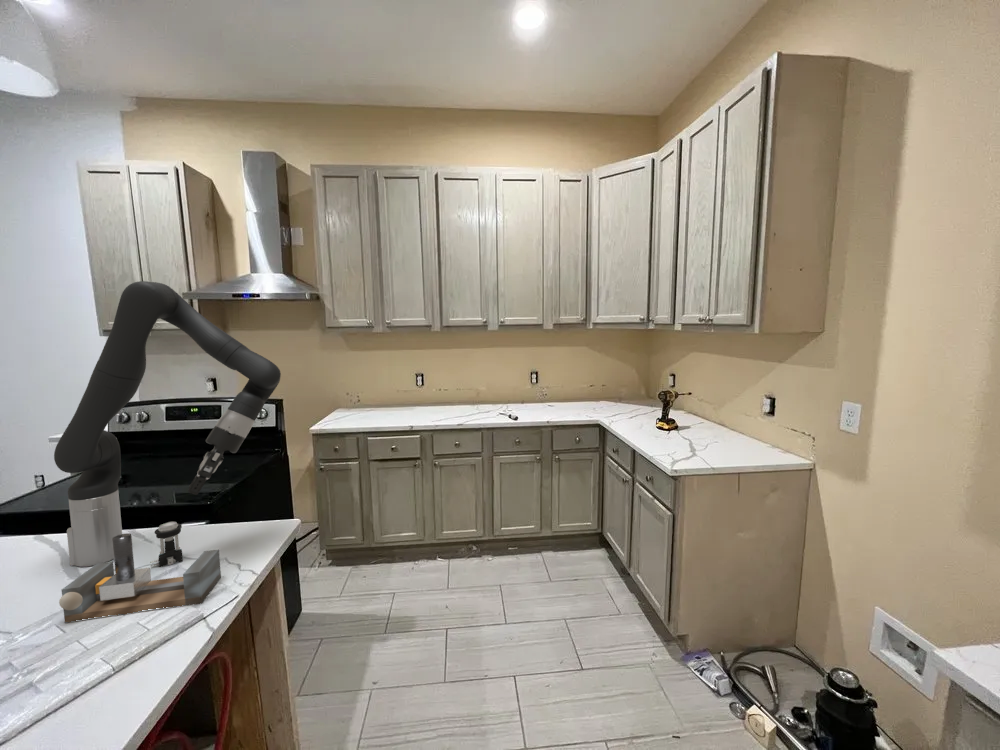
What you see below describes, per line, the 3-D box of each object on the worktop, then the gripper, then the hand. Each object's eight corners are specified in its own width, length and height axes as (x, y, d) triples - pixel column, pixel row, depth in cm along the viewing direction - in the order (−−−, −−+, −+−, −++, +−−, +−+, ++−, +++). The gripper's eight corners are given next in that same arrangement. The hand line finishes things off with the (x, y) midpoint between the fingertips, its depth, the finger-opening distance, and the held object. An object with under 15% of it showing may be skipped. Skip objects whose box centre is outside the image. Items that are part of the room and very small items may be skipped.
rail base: (61, 624, 83) (58, 590, 82) (98, 593, 93) (95, 563, 92) (200, 604, 88) (198, 573, 88) (221, 577, 98) (218, 549, 98)
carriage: (100, 600, 86) (95, 544, 85) (119, 584, 92) (114, 532, 91) (134, 596, 87) (129, 541, 86) (151, 580, 93) (146, 528, 92)
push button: (150, 572, 101) (146, 533, 100) (151, 563, 105) (147, 525, 104) (184, 563, 105) (181, 525, 104) (184, 555, 109) (181, 518, 109)
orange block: (96, 594, 87) (95, 585, 87) (105, 586, 90) (104, 577, 90) (105, 593, 87) (104, 584, 87) (114, 585, 90) (113, 576, 90)
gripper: (215, 425, 111) (176, 483, 105) (216, 424, 100) (173, 489, 94) (243, 437, 115) (208, 493, 109) (248, 437, 103) (209, 500, 97)
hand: (192, 491), depth 101 cm, fingers open, 8 cm apart
